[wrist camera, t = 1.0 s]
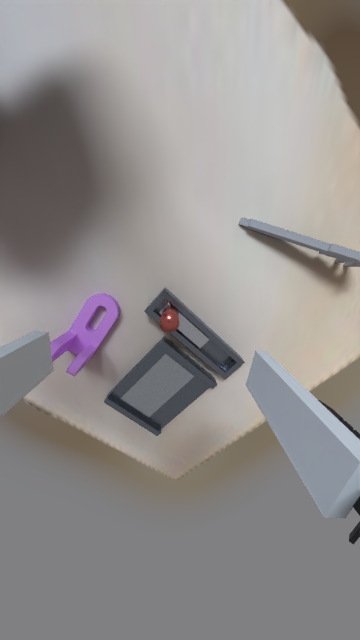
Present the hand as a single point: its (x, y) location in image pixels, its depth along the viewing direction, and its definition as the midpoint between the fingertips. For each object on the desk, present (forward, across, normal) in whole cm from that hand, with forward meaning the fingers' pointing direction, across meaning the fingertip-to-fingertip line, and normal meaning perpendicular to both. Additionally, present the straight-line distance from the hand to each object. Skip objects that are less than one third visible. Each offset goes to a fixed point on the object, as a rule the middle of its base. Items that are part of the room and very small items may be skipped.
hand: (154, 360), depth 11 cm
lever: (+19, +4, -4) cm, 20 cm away
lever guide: (+20, +6, -6) cm, 22 cm away
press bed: (+20, 0, -18) cm, 27 cm away
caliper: (+20, +20, +12) cm, 31 cm away
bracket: (+20, -13, -6) cm, 25 cm away
